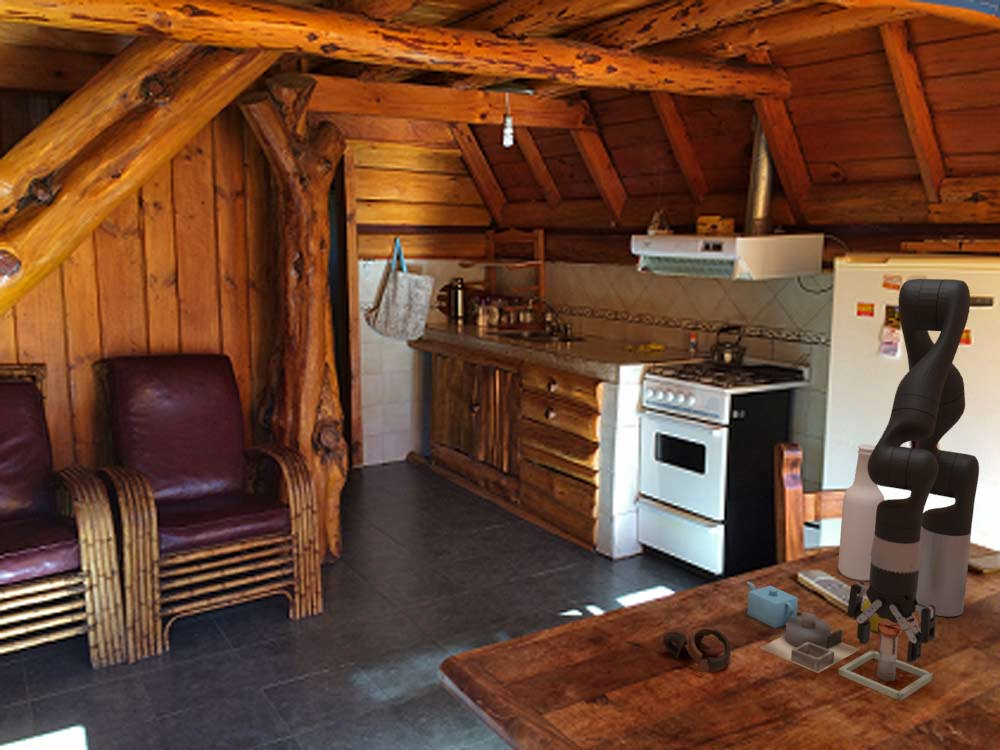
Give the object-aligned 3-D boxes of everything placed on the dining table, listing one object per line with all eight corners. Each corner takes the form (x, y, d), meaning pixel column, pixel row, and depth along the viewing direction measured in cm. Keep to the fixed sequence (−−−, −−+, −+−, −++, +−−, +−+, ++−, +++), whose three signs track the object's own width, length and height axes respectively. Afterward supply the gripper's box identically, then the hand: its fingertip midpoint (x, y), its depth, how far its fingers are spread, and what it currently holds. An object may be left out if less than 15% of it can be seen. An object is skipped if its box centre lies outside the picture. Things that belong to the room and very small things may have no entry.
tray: (870, 662, 163) (871, 649, 162) (932, 687, 154) (933, 673, 154) (837, 682, 156) (838, 668, 155) (900, 709, 147) (901, 694, 147)
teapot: (734, 615, 182) (736, 580, 181) (756, 609, 185) (758, 574, 184) (780, 638, 172) (782, 602, 171) (802, 631, 175) (804, 595, 174)
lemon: (893, 642, 171) (896, 602, 169) (862, 639, 172) (865, 600, 170) (886, 629, 176) (890, 591, 175) (857, 626, 177) (860, 588, 176)
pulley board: (800, 633, 174) (802, 602, 173) (859, 657, 165) (862, 623, 164) (757, 654, 165) (759, 621, 164) (817, 681, 156) (819, 646, 155)
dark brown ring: (722, 655, 166) (736, 629, 161) (718, 699, 159) (733, 673, 154) (659, 635, 168) (671, 608, 162) (653, 677, 160) (665, 651, 155)
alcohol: (878, 584, 198) (888, 452, 193) (836, 577, 202) (845, 448, 197) (880, 570, 206) (890, 444, 201) (839, 564, 210) (848, 439, 205)
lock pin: (880, 673, 157) (885, 618, 156) (901, 681, 154) (906, 625, 153) (869, 679, 155) (873, 624, 153) (890, 688, 152) (895, 631, 150)
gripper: (947, 569, 148) (939, 660, 151) (866, 545, 159) (860, 631, 162) (926, 580, 143) (917, 674, 146) (844, 555, 154) (837, 643, 157)
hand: (887, 651), depth 154 cm, fingers open, 8 cm apart
